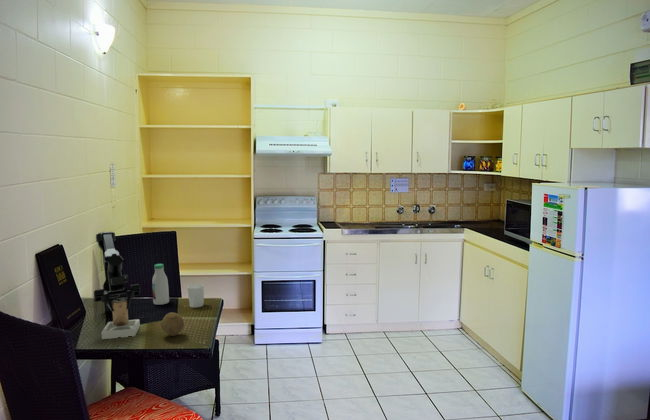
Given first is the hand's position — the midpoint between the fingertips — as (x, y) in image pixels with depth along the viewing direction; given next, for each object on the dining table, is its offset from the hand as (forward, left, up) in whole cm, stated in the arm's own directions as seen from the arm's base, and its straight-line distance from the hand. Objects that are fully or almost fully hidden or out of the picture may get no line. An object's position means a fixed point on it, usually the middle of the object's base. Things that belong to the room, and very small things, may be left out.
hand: (120, 309), depth 213 cm
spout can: (0, +1, -7) cm, 7 cm away
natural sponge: (+22, -9, -11) cm, 26 cm away
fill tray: (0, +1, -10) cm, 10 cm away
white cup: (+30, +31, -11) cm, 44 cm away
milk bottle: (+12, +41, -11) cm, 44 cm away
